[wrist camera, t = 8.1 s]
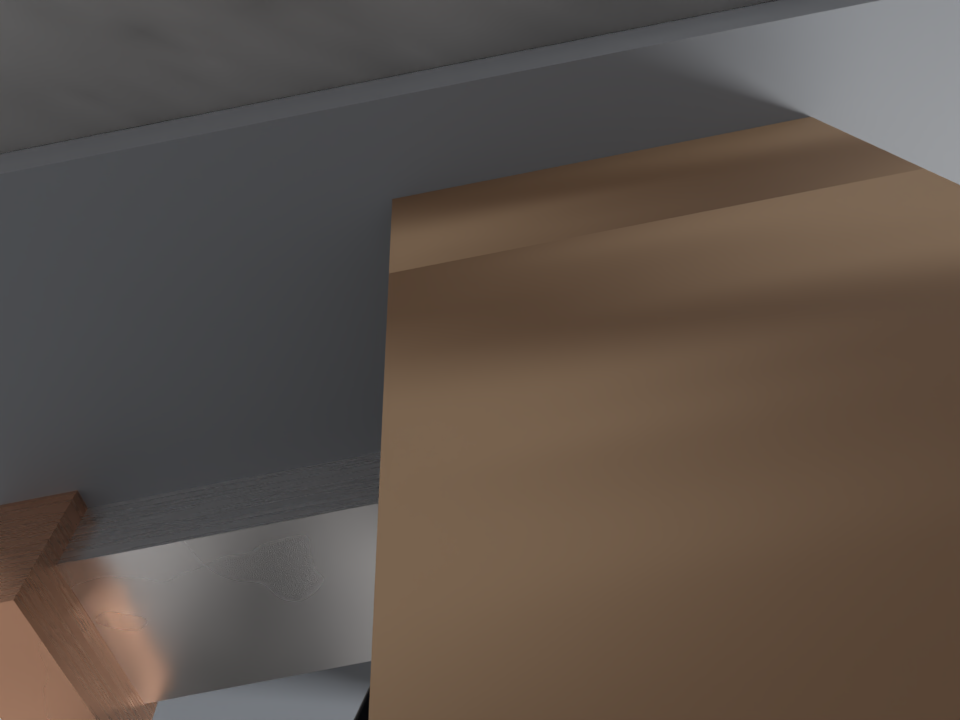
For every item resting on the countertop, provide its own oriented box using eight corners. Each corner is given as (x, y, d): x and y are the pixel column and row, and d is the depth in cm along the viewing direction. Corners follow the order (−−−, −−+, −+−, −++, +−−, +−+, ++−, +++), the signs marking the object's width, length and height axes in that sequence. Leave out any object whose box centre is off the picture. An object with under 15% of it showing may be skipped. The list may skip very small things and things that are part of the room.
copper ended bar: (106, 669, 11) (57, 789, 10) (0, 505, 10) (-80, 618, 8) (1183, 463, 11) (1312, 552, 9) (1262, 262, 9) (1433, 328, 8)
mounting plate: (189, 753, 14) (171, 819, 13) (-162, 186, 9) (-239, 221, 8) (1089, 583, 14) (1145, 636, 13) (1321, -108, 8) (1450, -113, 7)
